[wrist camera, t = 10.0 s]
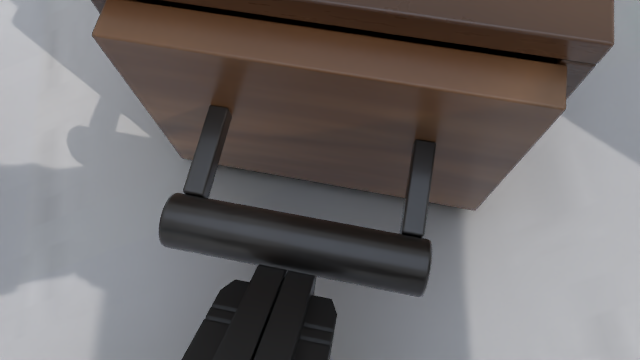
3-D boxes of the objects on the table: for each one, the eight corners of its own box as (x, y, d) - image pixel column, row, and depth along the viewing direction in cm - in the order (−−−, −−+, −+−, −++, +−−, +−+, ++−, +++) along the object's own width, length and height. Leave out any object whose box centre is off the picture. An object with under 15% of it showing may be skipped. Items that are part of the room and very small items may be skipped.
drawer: (464, 328, 17) (560, 299, 10) (147, 264, 18) (21, 196, 11) (502, -65, 23) (579, -265, 16) (262, -95, 24) (231, -295, 17)
